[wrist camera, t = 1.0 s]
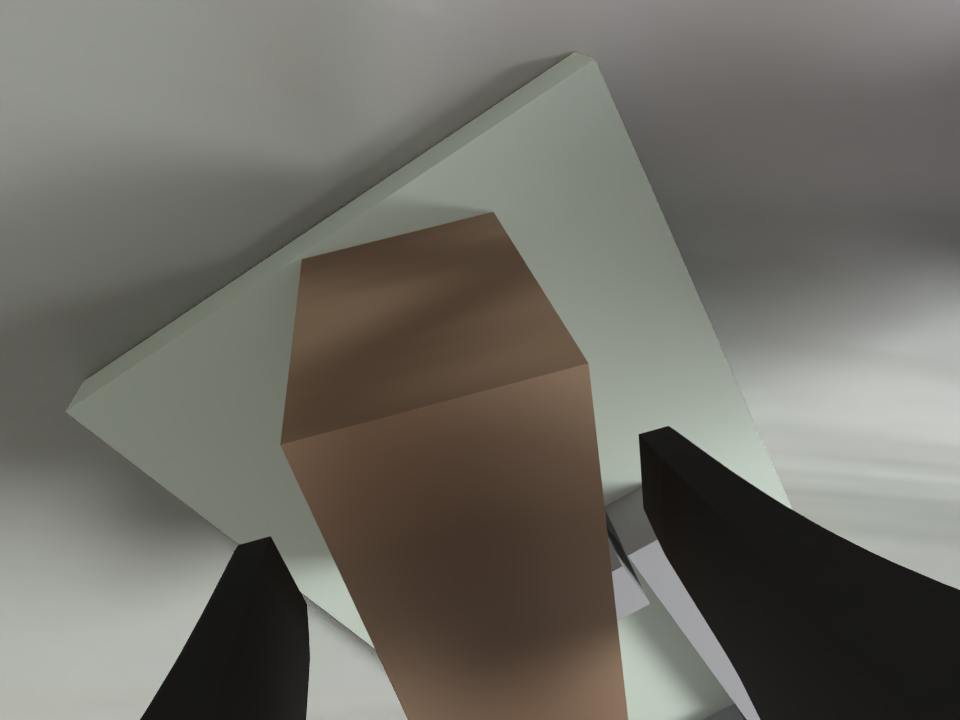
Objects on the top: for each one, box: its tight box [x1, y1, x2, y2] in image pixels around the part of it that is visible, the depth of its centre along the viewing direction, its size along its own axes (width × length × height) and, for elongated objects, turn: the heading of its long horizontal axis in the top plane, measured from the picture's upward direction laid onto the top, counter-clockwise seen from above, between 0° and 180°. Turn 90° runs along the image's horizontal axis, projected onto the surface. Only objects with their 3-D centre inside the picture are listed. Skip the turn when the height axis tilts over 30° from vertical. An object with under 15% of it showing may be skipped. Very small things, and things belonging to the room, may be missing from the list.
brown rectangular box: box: [280, 212, 628, 720], centre depth 13 cm, size 4×9×6 cm, turn 11°
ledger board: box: [65, 51, 793, 720], centre depth 20 cm, size 13×27×3 cm, turn 31°
